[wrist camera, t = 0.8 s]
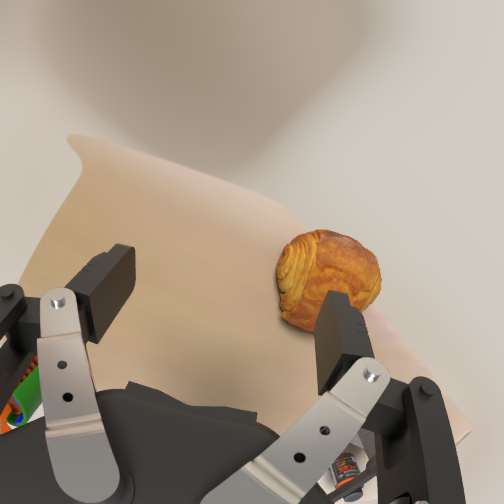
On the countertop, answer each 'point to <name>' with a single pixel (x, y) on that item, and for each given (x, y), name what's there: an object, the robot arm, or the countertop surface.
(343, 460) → the supplement bottle
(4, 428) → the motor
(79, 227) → the countertop surface
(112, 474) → the robot arm
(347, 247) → the croissant
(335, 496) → the lever
